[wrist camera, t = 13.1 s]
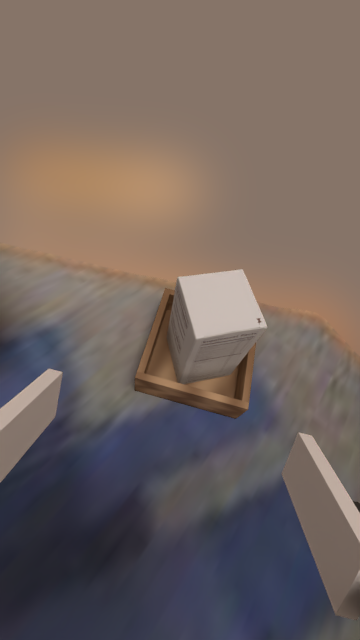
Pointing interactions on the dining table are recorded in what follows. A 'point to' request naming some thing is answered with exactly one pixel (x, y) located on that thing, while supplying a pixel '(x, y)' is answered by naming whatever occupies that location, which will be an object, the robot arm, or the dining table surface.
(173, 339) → the supplement box
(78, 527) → the dining table surface
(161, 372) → the oak crate
